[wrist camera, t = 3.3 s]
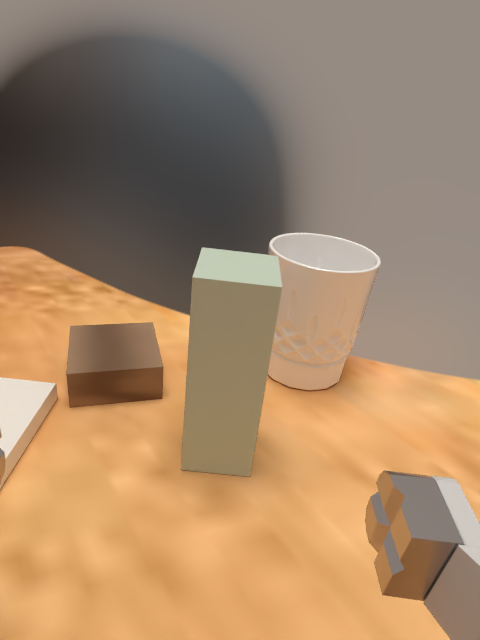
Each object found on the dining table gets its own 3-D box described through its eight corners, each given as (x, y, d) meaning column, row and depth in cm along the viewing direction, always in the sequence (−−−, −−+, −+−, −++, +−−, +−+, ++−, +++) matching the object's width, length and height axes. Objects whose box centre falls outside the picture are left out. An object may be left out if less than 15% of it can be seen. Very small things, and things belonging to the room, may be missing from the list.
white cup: (368, 382, 35) (405, 265, 30) (288, 407, 31) (315, 278, 26) (308, 334, 41) (331, 229, 36) (235, 350, 37) (249, 235, 32)
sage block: (250, 428, 29) (278, 256, 23) (250, 476, 25) (282, 287, 19) (189, 422, 29) (202, 247, 23) (180, 469, 25) (192, 277, 19)
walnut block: (152, 354, 35) (152, 322, 34) (162, 402, 30) (163, 366, 29) (73, 359, 34) (70, 326, 32) (70, 411, 29) (66, 374, 27)
